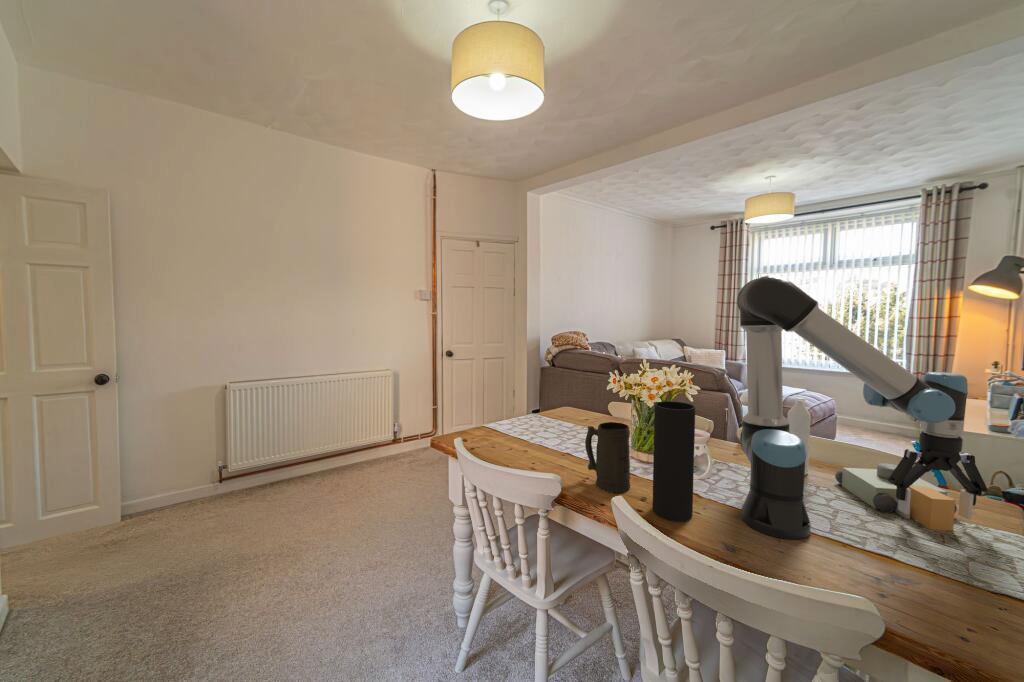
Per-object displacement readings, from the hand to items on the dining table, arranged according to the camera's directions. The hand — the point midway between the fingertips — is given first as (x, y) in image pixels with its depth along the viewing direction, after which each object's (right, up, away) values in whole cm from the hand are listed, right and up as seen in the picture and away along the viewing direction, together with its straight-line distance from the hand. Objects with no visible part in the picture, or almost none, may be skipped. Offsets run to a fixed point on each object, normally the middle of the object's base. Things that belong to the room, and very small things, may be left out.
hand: (933, 514), depth 105 cm
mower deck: (+3, -2, +14) cm, 14 cm away
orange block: (+1, -3, +2) cm, 4 cm away
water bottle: (-10, -1, +37) cm, 38 cm away
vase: (-64, -3, +8) cm, 65 cm away
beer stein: (-78, -2, +26) cm, 83 cm away
